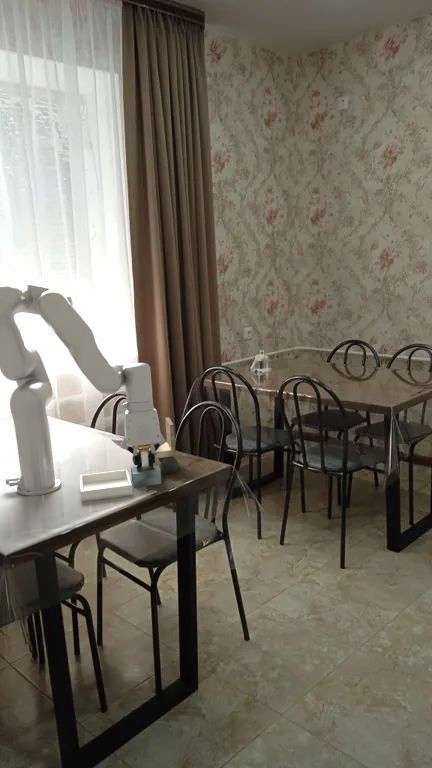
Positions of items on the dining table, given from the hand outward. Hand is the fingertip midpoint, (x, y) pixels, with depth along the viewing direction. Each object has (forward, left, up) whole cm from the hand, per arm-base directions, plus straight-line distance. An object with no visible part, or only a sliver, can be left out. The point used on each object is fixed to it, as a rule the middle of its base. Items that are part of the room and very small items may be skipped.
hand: (145, 465), depth 186 cm
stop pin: (0, 0, -5) cm, 5 cm away
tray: (-12, -3, -5) cm, 13 cm away
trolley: (+3, +5, -5) cm, 8 cm away
